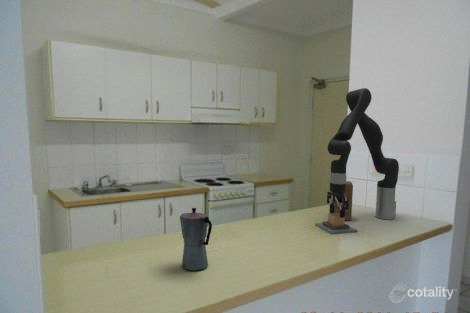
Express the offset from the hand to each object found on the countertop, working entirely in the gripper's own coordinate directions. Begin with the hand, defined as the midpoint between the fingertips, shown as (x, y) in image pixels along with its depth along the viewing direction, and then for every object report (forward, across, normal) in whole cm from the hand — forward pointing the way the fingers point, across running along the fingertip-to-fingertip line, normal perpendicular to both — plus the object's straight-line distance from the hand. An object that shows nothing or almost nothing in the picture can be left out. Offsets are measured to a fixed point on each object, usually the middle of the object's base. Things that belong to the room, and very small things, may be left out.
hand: (336, 215), depth 151 cm
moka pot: (+6, -26, +72) cm, 77 cm away
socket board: (+7, 0, 0) cm, 7 cm away
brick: (+6, 0, 0) cm, 6 cm away
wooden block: (+7, +16, -14) cm, 22 cm away
